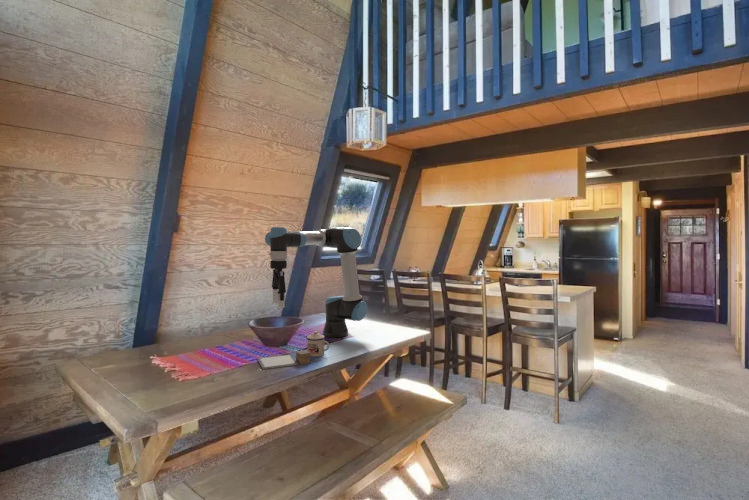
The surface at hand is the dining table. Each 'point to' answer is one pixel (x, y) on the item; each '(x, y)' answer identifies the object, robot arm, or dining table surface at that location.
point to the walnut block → (303, 357)
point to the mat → (277, 361)
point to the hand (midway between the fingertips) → (278, 305)
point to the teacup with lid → (316, 344)
